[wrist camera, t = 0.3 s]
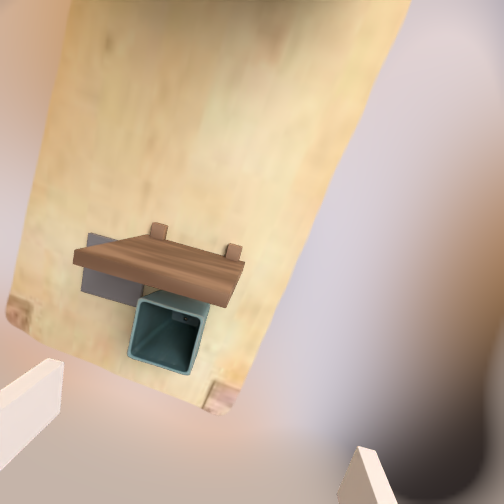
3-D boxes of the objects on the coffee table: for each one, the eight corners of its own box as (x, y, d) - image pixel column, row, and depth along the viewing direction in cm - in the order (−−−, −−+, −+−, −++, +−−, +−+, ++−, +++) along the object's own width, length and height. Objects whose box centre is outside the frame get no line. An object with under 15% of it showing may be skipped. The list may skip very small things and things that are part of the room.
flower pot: (168, 276, 38) (137, 297, 29) (220, 292, 38) (205, 317, 29) (157, 324, 40) (125, 357, 31) (207, 339, 40) (189, 377, 31)
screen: (149, 220, 37) (77, 227, 23) (248, 248, 36) (235, 272, 23) (143, 256, 38) (70, 284, 24) (239, 284, 37) (220, 328, 24)
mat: (91, 232, 38) (88, 233, 37) (150, 249, 38) (148, 250, 37) (83, 289, 40) (80, 291, 39) (140, 306, 39) (138, 307, 39)
